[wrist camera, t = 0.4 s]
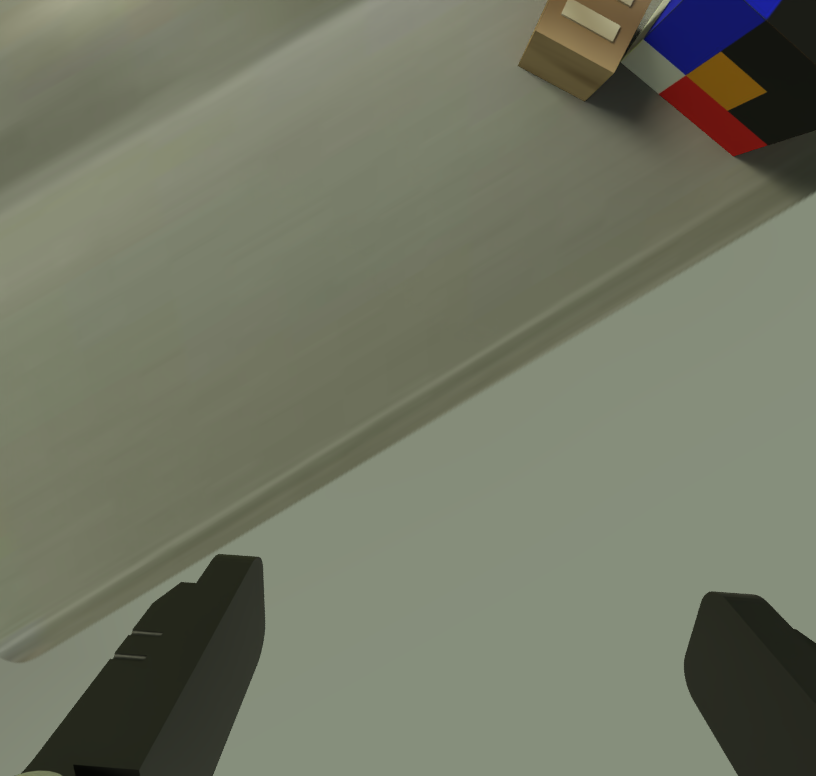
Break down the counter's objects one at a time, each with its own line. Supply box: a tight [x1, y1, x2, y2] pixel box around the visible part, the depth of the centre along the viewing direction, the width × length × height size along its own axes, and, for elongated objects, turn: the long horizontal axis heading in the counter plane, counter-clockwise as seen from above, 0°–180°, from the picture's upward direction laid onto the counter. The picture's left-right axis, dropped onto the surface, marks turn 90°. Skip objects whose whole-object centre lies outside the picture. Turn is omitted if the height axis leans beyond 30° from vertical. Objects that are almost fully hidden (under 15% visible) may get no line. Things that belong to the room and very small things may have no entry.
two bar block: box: [518, 0, 651, 101], centre depth 27 cm, size 5×5×5 cm
